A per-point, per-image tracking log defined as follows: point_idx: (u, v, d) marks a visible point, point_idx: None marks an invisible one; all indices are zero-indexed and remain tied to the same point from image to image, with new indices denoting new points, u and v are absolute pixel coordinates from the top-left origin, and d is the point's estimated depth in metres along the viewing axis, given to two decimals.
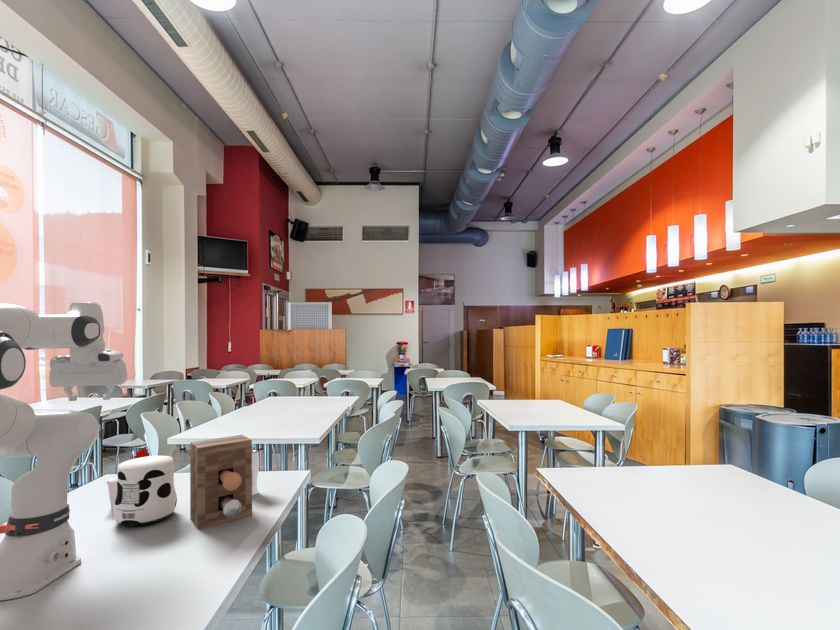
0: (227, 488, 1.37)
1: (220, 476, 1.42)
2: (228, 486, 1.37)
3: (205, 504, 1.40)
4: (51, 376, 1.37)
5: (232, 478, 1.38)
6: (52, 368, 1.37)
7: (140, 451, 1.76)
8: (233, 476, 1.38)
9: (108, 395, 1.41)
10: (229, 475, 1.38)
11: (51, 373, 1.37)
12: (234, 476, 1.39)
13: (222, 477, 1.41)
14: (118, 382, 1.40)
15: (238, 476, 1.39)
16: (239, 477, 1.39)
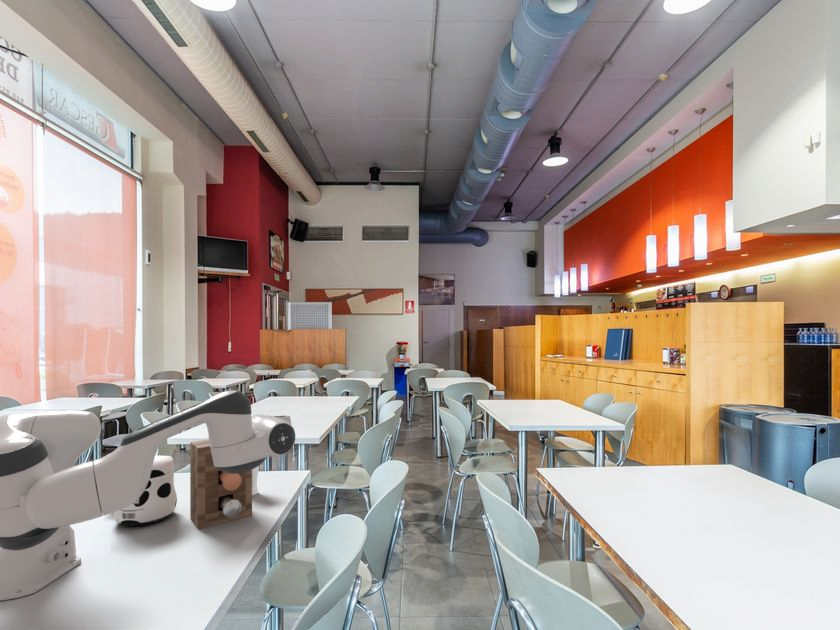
0: (227, 488, 1.37)
1: (220, 476, 1.42)
2: (228, 486, 1.37)
3: (205, 504, 1.40)
4: None
5: (232, 478, 1.38)
6: None
7: None
8: (233, 476, 1.38)
9: None
10: (229, 475, 1.38)
11: None
12: (234, 476, 1.39)
13: (222, 477, 1.41)
14: None
15: (238, 476, 1.39)
16: (239, 477, 1.39)
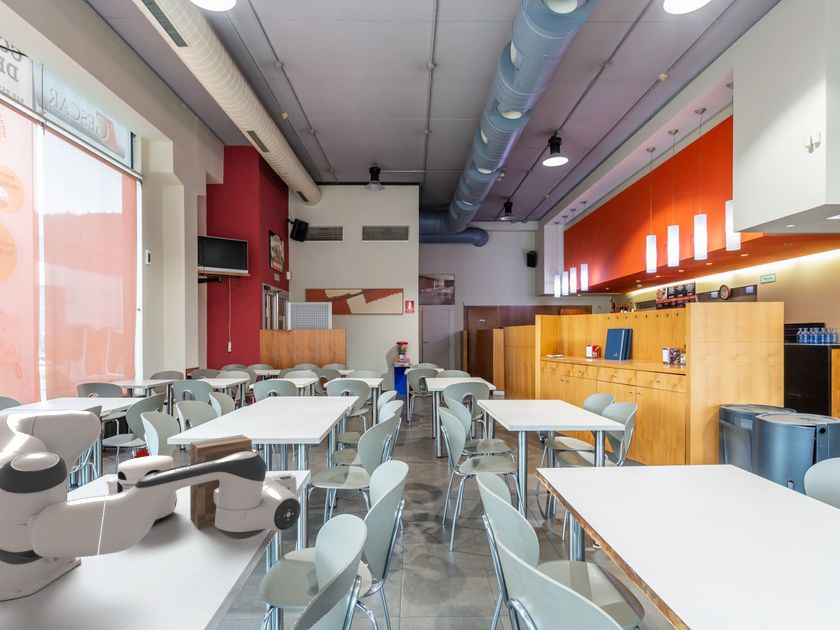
0: None
1: None
2: None
3: (205, 504, 1.40)
4: None
5: None
6: None
7: (140, 451, 1.76)
8: None
9: None
10: None
11: None
12: None
13: None
14: None
15: None
16: None
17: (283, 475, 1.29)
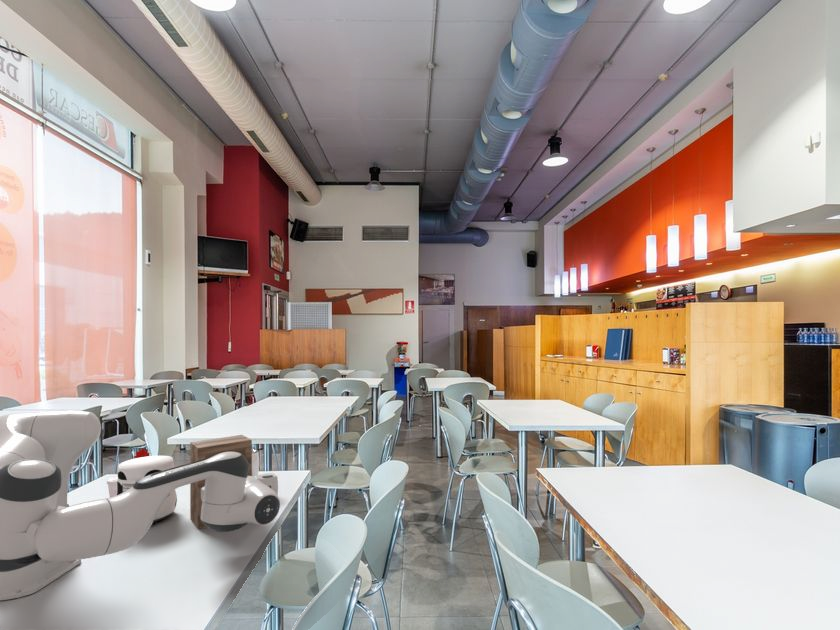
0: None
1: None
2: None
3: None
4: None
5: None
6: None
7: (140, 451, 1.76)
8: None
9: None
10: None
11: None
12: None
13: None
14: None
15: None
16: None
17: (266, 474, 1.38)
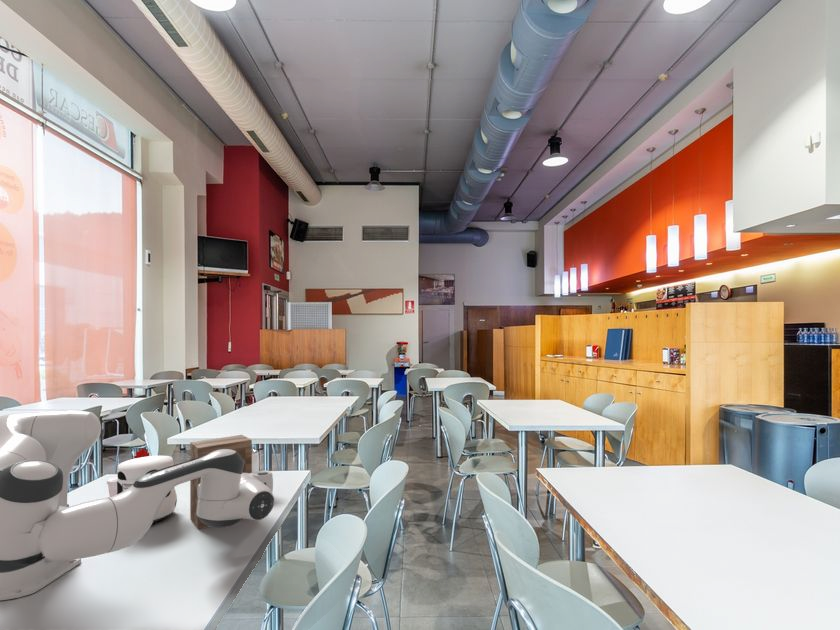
0: None
1: None
2: None
3: None
4: None
5: None
6: None
7: (140, 451, 1.76)
8: None
9: None
10: None
11: None
12: None
13: None
14: None
15: None
16: None
17: (262, 471, 1.41)
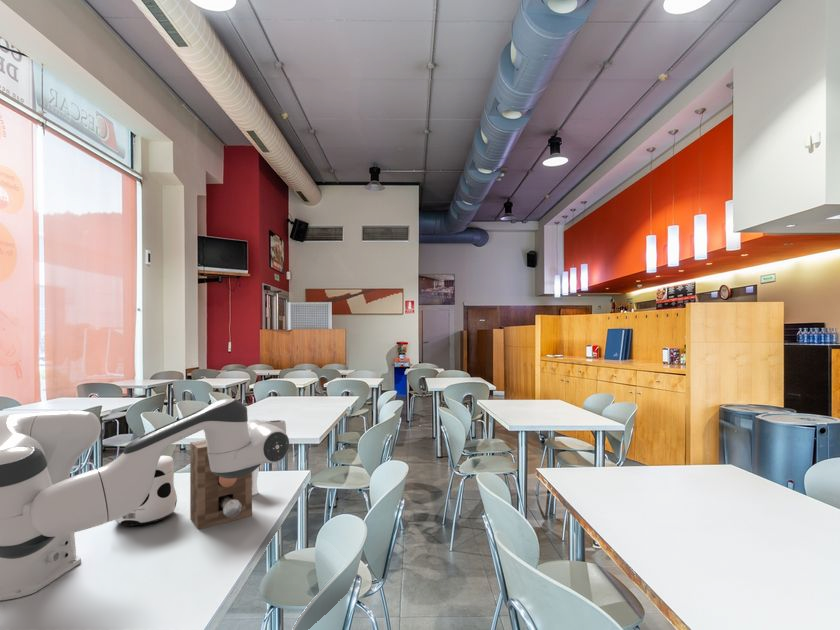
0: (223, 484, 1.41)
1: None
2: (224, 482, 1.41)
3: (205, 504, 1.40)
4: None
5: None
6: None
7: None
8: None
9: None
10: None
11: None
12: None
13: None
14: None
15: None
16: None
17: None
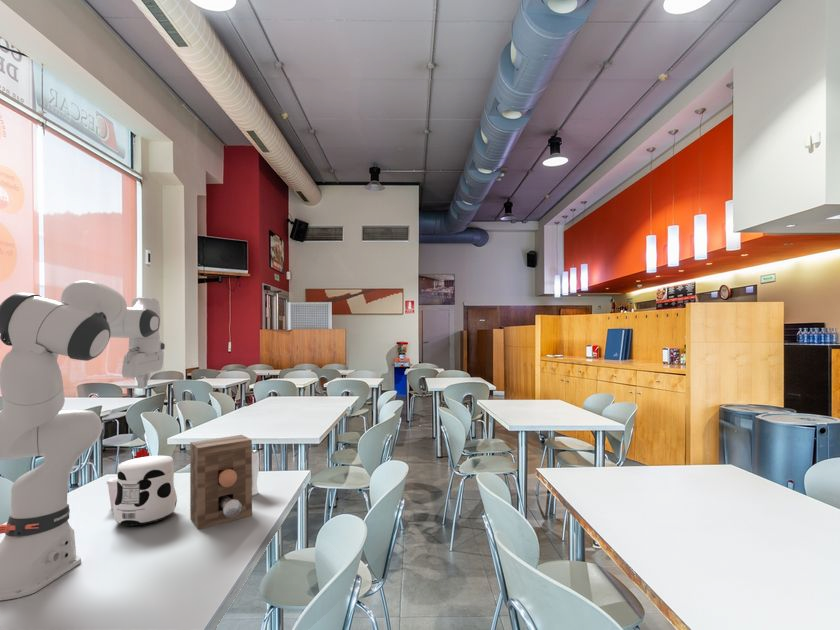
0: (223, 484, 1.41)
1: None
2: (224, 482, 1.41)
3: (205, 504, 1.40)
4: (135, 367, 1.45)
5: (228, 475, 1.42)
6: (135, 359, 1.45)
7: (140, 451, 1.76)
8: (229, 473, 1.42)
9: None
10: (225, 472, 1.41)
11: (135, 364, 1.45)
12: (230, 473, 1.42)
13: (218, 474, 1.44)
14: (161, 367, 1.63)
15: (234, 473, 1.43)
16: (235, 474, 1.43)
17: None
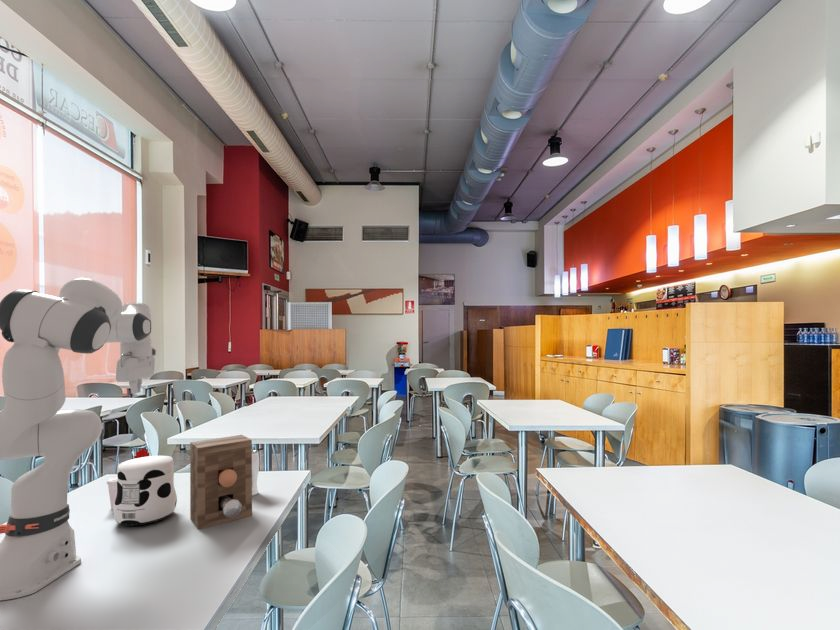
0: (223, 484, 1.41)
1: None
2: (224, 482, 1.41)
3: (205, 504, 1.40)
4: (129, 371, 1.46)
5: (228, 475, 1.42)
6: (129, 363, 1.46)
7: (140, 451, 1.76)
8: (229, 473, 1.42)
9: None
10: (225, 472, 1.41)
11: (128, 368, 1.46)
12: (230, 473, 1.42)
13: (218, 474, 1.44)
14: (152, 374, 1.64)
15: (234, 473, 1.43)
16: (235, 474, 1.43)
17: None
